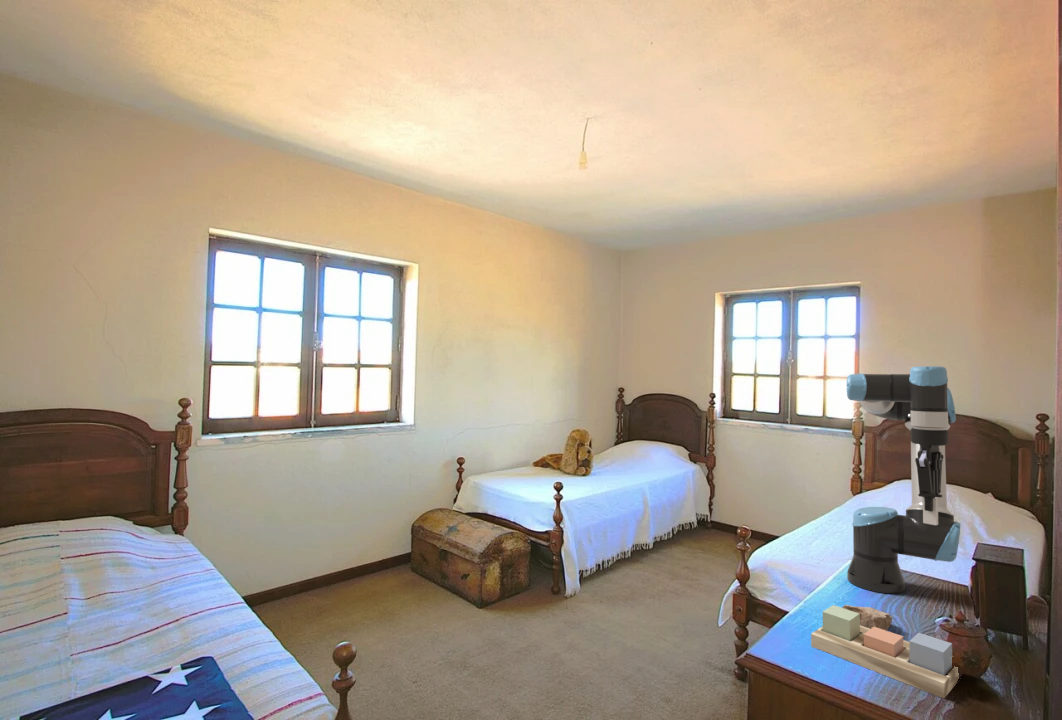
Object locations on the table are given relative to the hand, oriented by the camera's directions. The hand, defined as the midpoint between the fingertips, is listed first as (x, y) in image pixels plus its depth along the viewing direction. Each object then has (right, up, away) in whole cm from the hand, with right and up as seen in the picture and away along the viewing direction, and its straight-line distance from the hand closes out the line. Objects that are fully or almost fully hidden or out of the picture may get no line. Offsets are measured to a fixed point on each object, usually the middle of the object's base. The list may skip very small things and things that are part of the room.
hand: (930, 523), depth 132 cm
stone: (-11, -29, +6) cm, 32 cm away
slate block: (-13, -26, -17) cm, 33 cm away
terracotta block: (-18, -28, -10) cm, 35 cm away
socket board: (-18, -28, -10) cm, 35 cm away
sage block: (-24, -26, -3) cm, 35 cm away
